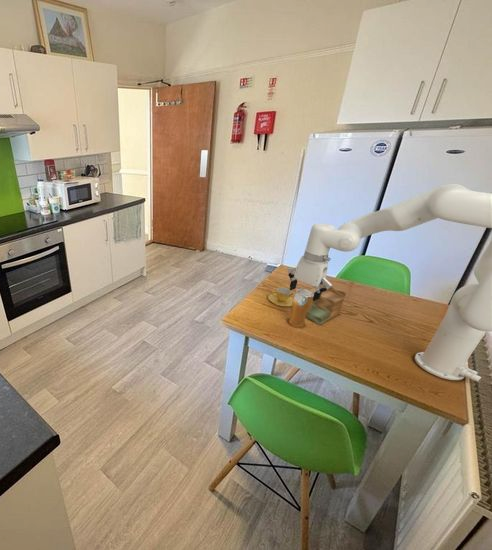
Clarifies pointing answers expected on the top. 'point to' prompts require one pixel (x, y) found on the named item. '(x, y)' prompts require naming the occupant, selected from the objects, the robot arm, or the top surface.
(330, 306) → the shelf riser
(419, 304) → the top surface
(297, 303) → the beer glass
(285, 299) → the cup
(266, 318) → the top surface
